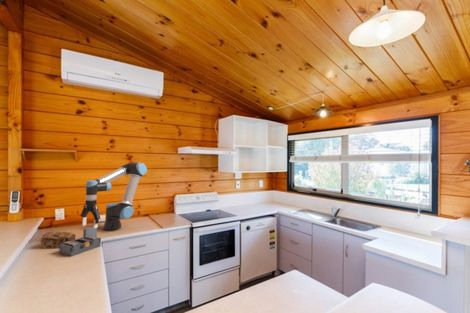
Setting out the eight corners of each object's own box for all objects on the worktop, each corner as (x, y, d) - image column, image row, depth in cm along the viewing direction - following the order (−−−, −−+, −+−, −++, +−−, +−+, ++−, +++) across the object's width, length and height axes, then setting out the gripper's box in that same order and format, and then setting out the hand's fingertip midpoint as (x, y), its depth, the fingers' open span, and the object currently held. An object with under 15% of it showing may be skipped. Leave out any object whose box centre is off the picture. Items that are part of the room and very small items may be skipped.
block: (93, 238, 191) (94, 226, 192) (96, 238, 190) (96, 226, 190) (83, 241, 183) (83, 228, 183) (85, 242, 182) (86, 229, 182)
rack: (88, 243, 180) (89, 234, 180) (101, 246, 174) (101, 236, 174) (59, 253, 160) (59, 242, 161) (71, 256, 155) (72, 246, 155)
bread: (39, 248, 167) (40, 234, 168) (49, 243, 178) (50, 230, 178) (68, 248, 170) (68, 234, 170) (76, 243, 180) (76, 230, 181)
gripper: (76, 199, 189) (74, 225, 188) (97, 201, 179) (96, 230, 178) (85, 197, 196) (84, 223, 195) (106, 200, 186) (105, 227, 185)
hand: (89, 226), depth 187 cm, fingers open, 13 cm apart
